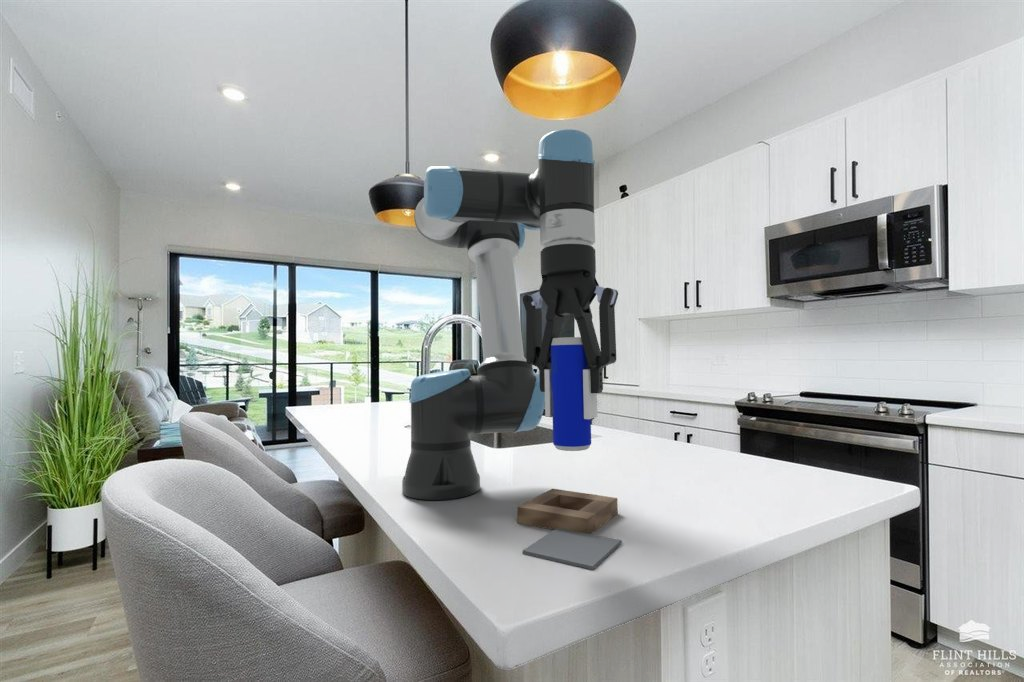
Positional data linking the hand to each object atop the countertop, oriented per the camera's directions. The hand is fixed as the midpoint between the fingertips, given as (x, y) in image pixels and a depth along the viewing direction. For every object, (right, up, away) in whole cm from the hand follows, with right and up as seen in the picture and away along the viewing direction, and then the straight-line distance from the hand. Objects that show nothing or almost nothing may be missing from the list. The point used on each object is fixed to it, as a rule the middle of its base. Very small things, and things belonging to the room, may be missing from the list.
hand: (571, 416), depth 69 cm
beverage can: (0, -4, 0) cm, 4 cm away
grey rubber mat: (0, -18, 0) cm, 18 cm away
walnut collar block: (+1, -18, +12) cm, 22 cm away
